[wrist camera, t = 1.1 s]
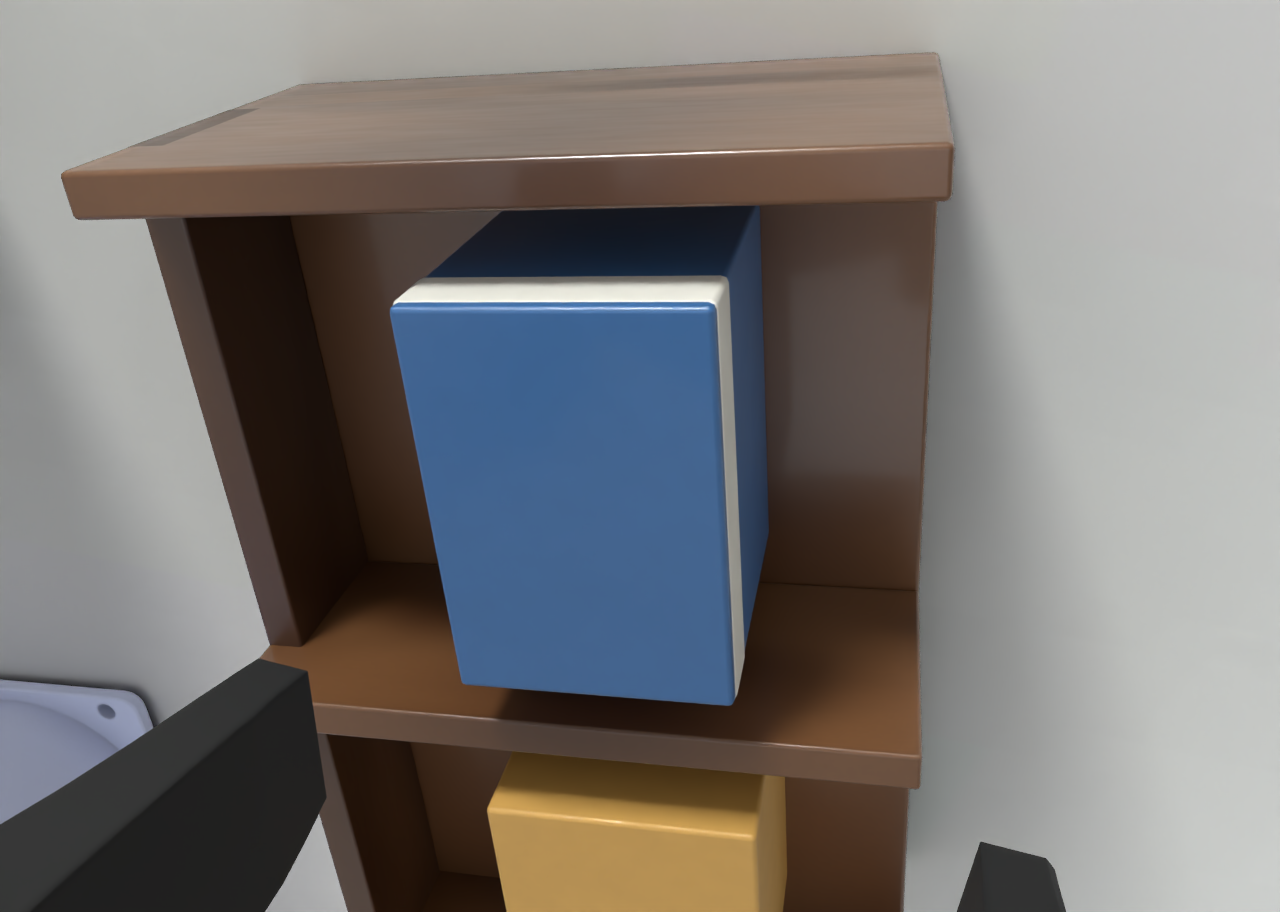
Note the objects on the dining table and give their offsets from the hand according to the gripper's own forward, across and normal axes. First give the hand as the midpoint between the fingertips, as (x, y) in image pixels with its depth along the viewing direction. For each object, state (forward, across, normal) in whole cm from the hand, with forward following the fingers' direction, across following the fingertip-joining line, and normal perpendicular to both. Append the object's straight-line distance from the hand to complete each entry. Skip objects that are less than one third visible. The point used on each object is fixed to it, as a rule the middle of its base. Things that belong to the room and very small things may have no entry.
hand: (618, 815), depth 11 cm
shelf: (+12, +3, +5) cm, 13 cm away
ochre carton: (+9, +1, +9) cm, 13 cm away
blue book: (+10, +2, 0) cm, 10 cm away
